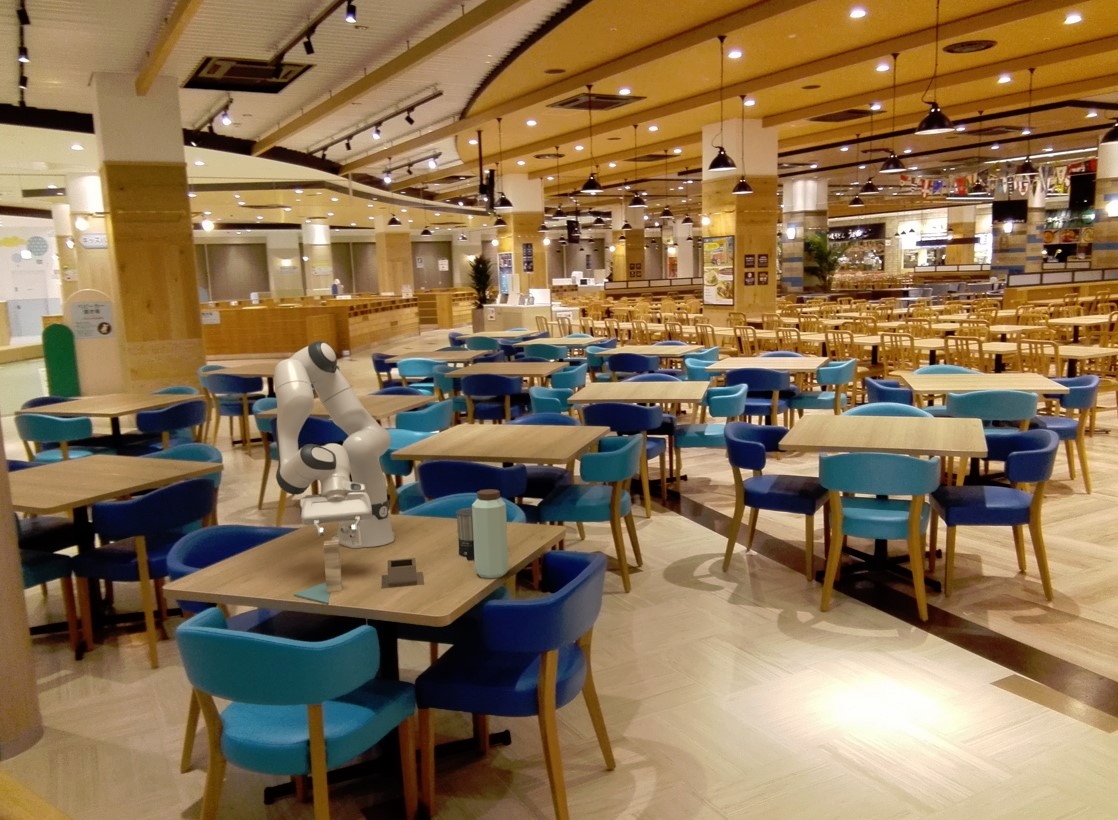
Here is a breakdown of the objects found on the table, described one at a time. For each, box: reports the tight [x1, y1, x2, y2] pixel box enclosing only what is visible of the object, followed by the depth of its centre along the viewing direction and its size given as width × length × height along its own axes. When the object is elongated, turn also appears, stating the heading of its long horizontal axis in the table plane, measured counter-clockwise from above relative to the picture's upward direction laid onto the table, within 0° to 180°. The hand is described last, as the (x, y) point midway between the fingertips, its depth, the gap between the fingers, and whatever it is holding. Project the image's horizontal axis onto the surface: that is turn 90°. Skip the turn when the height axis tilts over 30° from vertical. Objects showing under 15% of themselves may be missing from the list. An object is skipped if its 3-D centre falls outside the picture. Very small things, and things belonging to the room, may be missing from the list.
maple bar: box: [323, 540, 343, 594], centre depth 246 cm, size 4×4×14 cm
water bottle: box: [471, 488, 510, 579], centre depth 257 cm, size 10×10×25 cm
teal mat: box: [293, 581, 331, 605], centre depth 247 cm, size 16×16×1 cm
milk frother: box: [455, 507, 475, 561], centre depth 279 cm, size 14×16×15 cm
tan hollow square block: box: [380, 557, 425, 589], centre depth 252 cm, size 12×12×6 cm
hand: (337, 533), depth 251 cm, fingers open, 8 cm apart
